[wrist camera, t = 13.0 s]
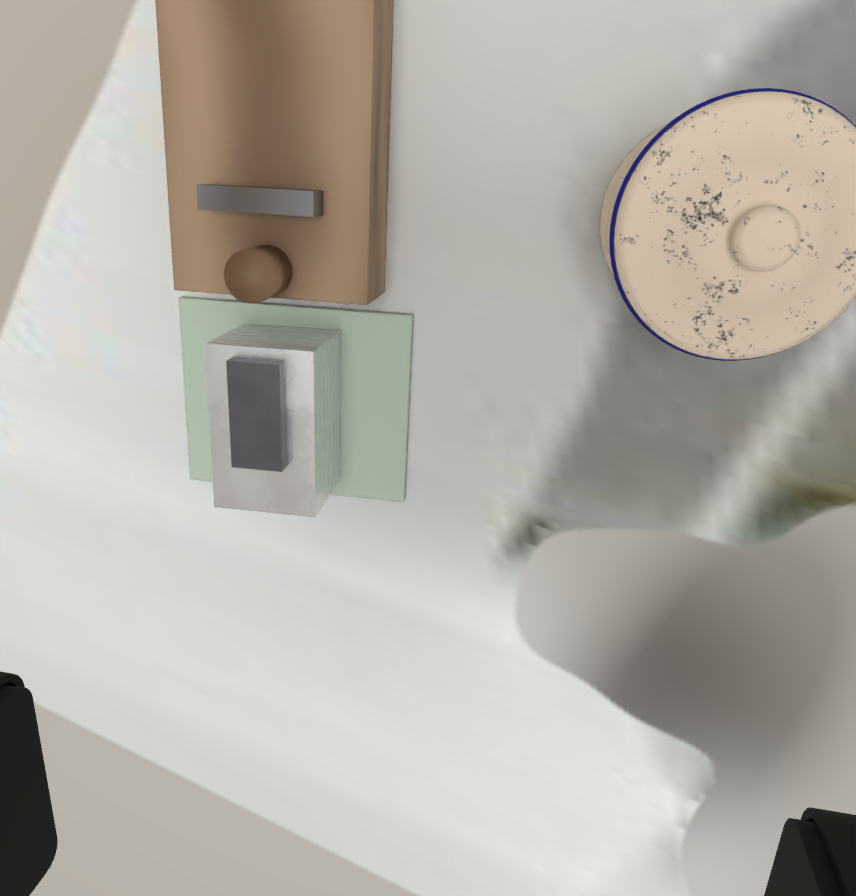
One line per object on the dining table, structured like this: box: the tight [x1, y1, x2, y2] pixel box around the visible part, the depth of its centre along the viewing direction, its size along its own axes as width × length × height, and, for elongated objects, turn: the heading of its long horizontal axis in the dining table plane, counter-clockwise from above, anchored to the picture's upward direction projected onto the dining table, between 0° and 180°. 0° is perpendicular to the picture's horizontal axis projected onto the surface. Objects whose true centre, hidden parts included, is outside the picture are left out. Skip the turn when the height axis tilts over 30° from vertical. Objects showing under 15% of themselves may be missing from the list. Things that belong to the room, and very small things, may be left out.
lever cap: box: [205, 323, 342, 517], centre depth 36 cm, size 5×8×6 cm, turn 177°
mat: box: [179, 297, 413, 502], centre depth 39 cm, size 12×10×1 cm
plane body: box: [155, 0, 394, 305], centre depth 31 cm, size 9×18×7 cm, turn 177°
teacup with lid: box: [600, 88, 856, 361], centre depth 28 cm, size 12×9×12 cm
